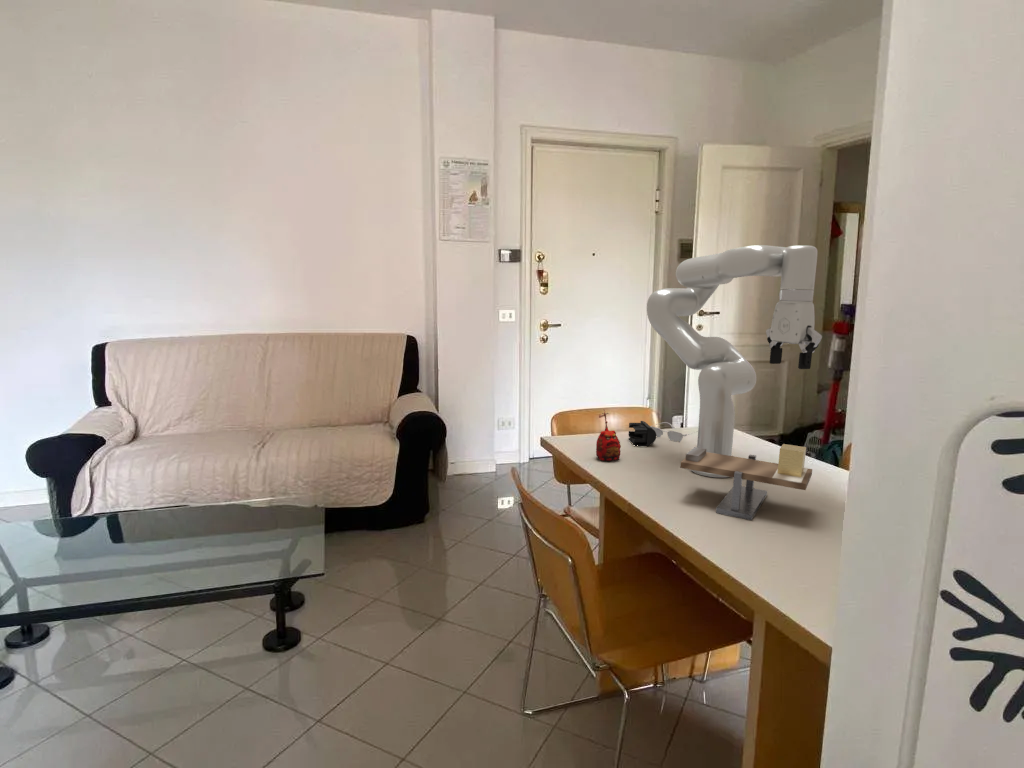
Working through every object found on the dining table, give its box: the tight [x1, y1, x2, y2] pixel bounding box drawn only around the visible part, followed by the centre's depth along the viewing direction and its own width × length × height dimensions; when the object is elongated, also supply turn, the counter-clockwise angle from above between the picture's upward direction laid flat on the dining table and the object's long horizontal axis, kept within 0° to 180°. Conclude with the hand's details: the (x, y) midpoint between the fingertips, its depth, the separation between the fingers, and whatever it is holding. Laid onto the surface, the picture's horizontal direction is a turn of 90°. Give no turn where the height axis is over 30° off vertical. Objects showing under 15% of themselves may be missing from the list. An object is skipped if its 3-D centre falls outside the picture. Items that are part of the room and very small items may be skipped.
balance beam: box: [680, 446, 813, 491], centre depth 145 cm, size 28×14×3 cm, turn 58°
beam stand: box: [715, 454, 768, 521], centre depth 146 cm, size 8×20×10 cm, turn 148°
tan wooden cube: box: [777, 443, 807, 477], centre depth 139 cm, size 5×5×6 cm
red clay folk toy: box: [595, 409, 622, 462], centre depth 181 cm, size 8×7×15 cm
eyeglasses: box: [649, 421, 698, 443], centre depth 214 cm, size 15×18×4 cm
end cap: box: [628, 420, 657, 447], centre depth 201 cm, size 10×7×7 cm
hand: (789, 366), depth 149 cm, fingers open, 9 cm apart
